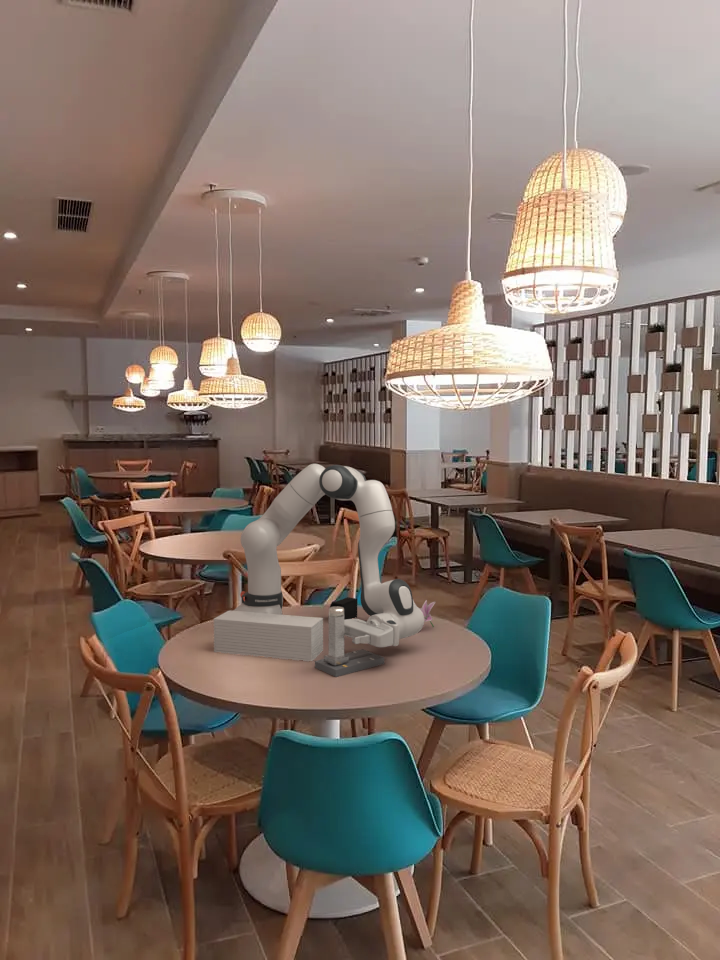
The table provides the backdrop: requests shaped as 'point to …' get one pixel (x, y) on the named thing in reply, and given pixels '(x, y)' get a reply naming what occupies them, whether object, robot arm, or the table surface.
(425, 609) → the lily
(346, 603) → the digital camera
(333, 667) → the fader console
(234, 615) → the stack of papers
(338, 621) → the lever
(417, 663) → the table surface
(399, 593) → the robot arm
